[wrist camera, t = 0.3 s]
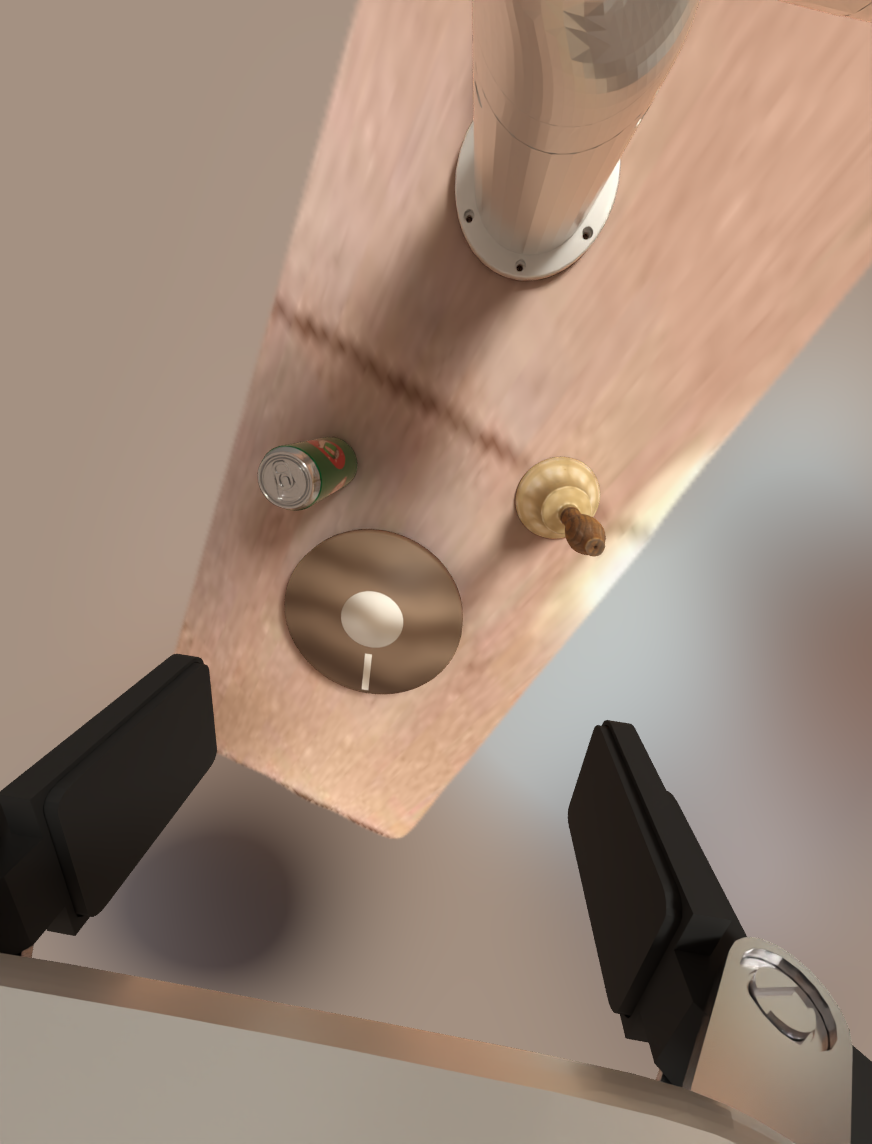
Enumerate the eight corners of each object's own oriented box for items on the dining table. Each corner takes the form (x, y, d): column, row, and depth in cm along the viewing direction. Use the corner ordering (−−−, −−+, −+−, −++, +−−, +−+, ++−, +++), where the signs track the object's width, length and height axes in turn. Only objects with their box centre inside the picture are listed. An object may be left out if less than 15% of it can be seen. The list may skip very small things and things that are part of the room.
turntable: (291, 514, 44) (285, 518, 43) (477, 546, 43) (477, 551, 42) (288, 670, 52) (283, 678, 50) (447, 699, 51) (446, 708, 50)
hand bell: (525, 547, 44) (550, 617, 29) (506, 471, 42) (522, 506, 27) (605, 525, 43) (674, 588, 28) (591, 445, 40) (657, 467, 25)
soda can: (319, 491, 44) (266, 519, 33) (304, 442, 42) (242, 454, 31) (364, 481, 43) (325, 506, 32) (350, 431, 42) (304, 439, 30)
